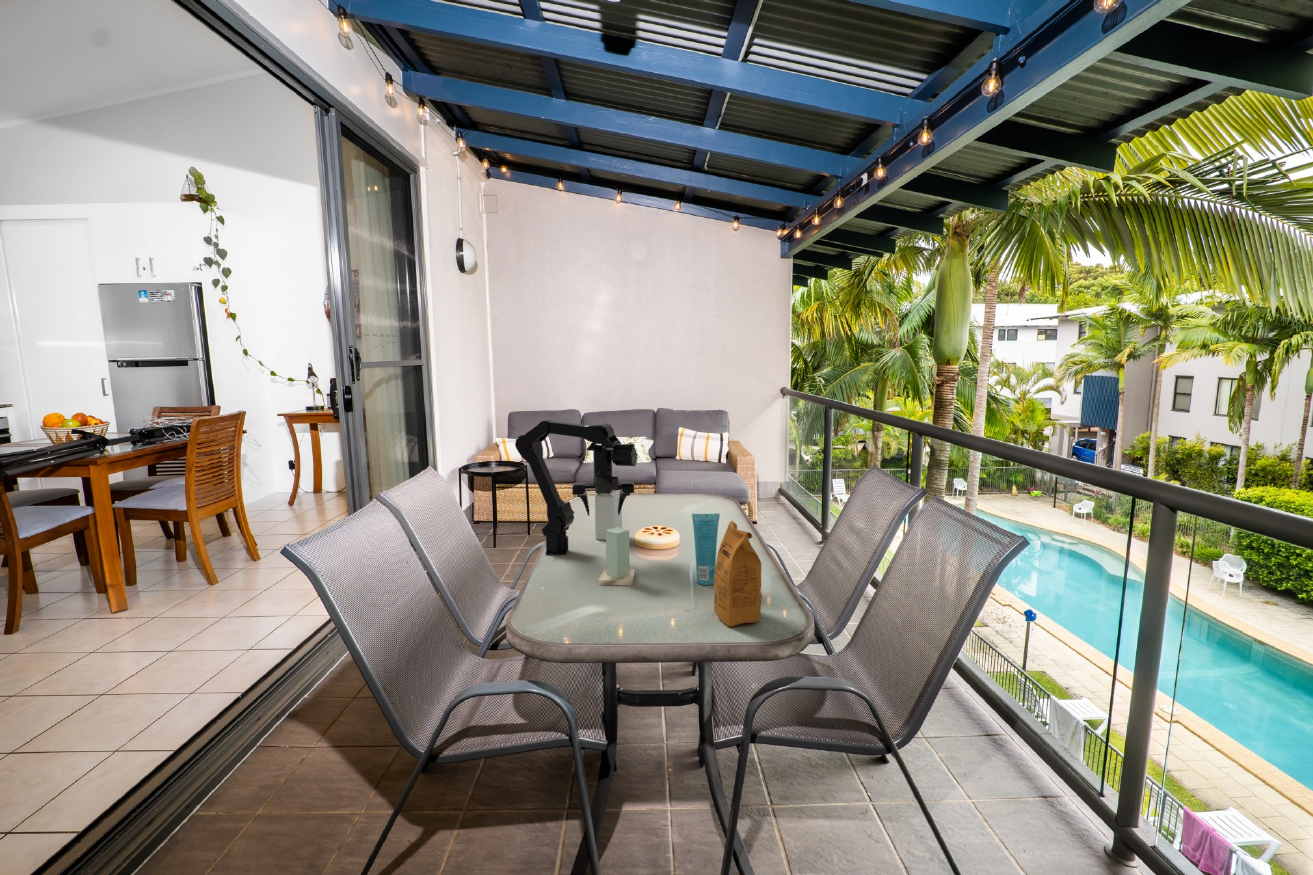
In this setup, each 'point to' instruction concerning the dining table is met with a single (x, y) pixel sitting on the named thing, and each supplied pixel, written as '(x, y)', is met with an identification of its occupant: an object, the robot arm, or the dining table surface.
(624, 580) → the slab top
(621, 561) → the post
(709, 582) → the tube
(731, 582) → the coffee package
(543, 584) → the dining table surface
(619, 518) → the milk carton
